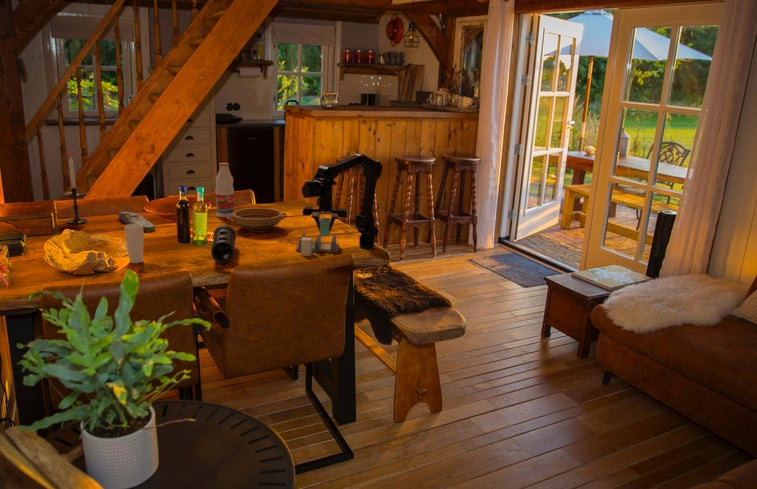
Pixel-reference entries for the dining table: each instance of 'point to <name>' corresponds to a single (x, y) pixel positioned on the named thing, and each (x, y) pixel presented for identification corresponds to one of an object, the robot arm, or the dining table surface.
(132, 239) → the drinking glass
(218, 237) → the muzzle brake
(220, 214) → the fruit juice
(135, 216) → the long grey stone
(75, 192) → the candlestick
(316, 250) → the slot rack
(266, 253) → the dining table surface
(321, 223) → the teal plug
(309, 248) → the off-white plug
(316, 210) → the robot arm
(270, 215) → the ceramic bowl
